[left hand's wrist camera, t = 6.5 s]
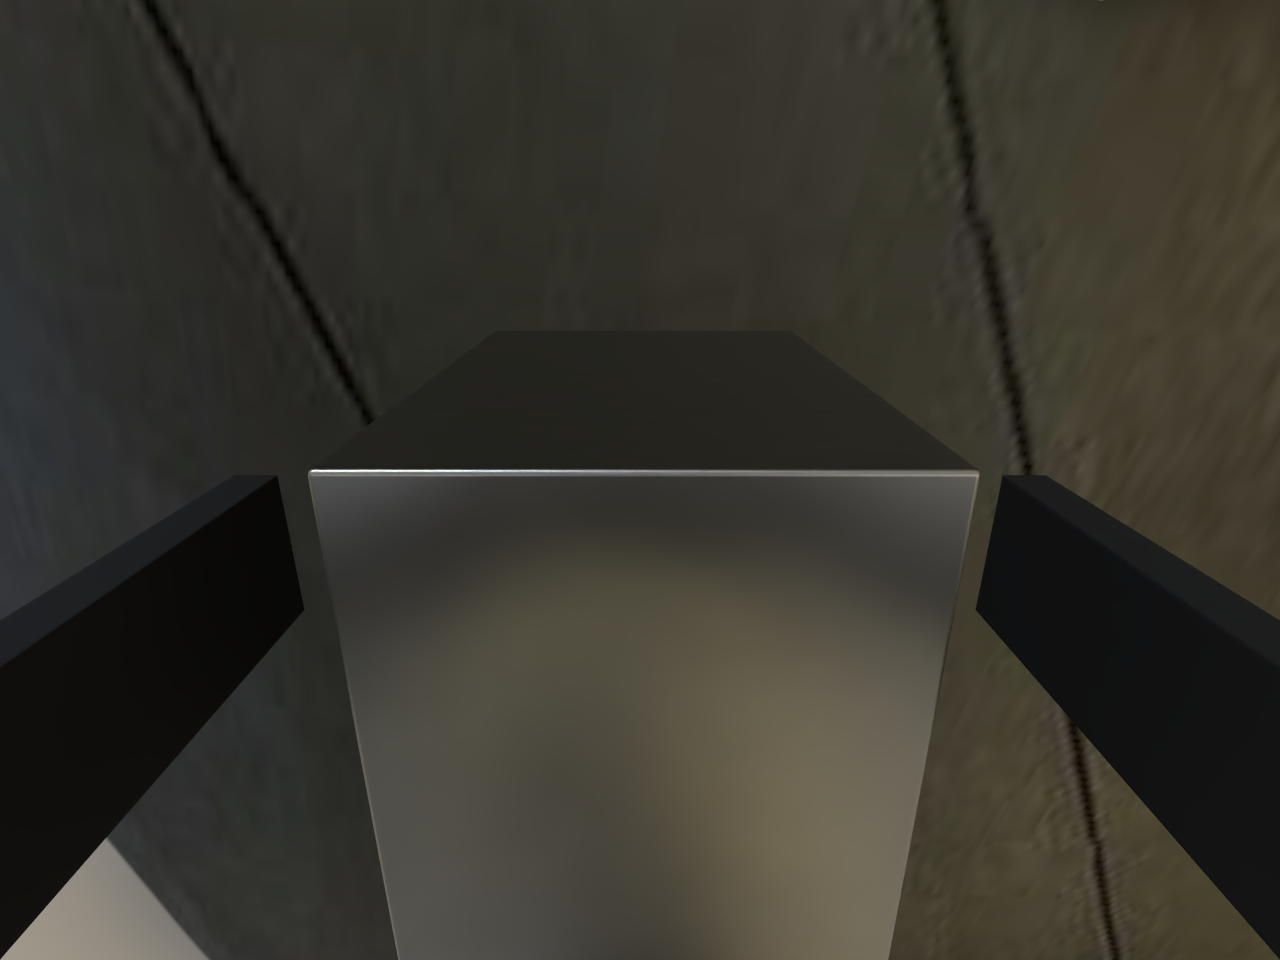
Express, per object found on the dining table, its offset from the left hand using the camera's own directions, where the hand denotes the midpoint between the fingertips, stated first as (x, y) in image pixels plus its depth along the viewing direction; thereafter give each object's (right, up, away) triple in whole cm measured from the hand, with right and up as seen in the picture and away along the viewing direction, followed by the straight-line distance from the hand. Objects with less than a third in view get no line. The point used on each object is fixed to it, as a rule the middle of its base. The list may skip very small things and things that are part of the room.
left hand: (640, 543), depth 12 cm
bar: (0, -9, +6) cm, 10 cm away
